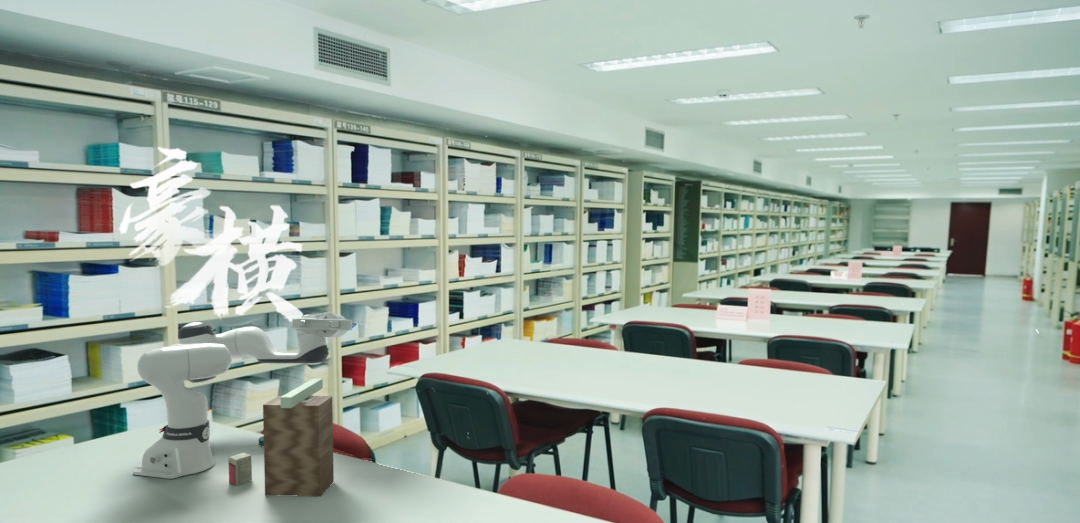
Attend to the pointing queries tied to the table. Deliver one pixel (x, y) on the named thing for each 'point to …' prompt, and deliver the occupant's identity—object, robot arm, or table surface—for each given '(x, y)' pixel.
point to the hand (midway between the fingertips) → (316, 323)
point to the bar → (301, 393)
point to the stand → (298, 447)
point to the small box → (240, 468)
